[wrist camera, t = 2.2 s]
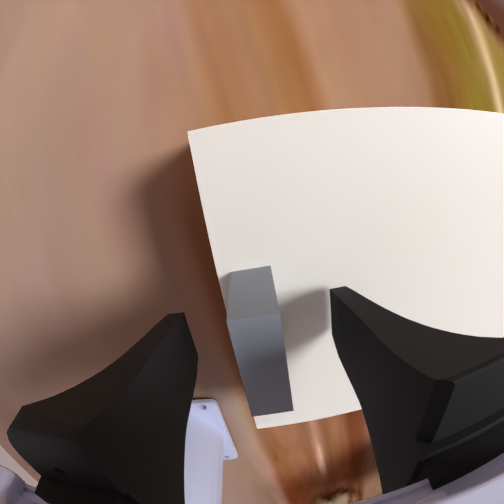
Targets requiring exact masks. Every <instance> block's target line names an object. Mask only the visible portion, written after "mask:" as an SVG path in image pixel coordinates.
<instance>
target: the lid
mask: <svg viewBox="0 0 504 504" xmlns="http://www.w3.org/2000/svg"><path fill="white" fill-rule="evenodd" d="M188 138H189V143H190V148H191V154H192V159H193V164H194V169H195V174H196V179H197V184H198V189H199V194H200V198H201V203H202V208H203V213H204V217H205V222H206V227H207V231H208V236H209V240H210V245H211V249H212V254H213V258H214V262H215V267H216V271H217V275H218V280H219V284H220V288H221V292H222V297H223V301H224V305H225V309H226V313H227V320H226V322H227V326H228V330H229V334H230V338H231V342H232V345H233V349H234V353H235V357H236V361H237V364H238V368H239V372H240V375H241V379H242V383H243V386H244V390H245V393H246V397H247V401H248V404H249V408H250V411H251V415H252V417H253V416H254V419H255V422H256V426H257V429H258V428H267V427H274V426H281V425H288V424H294V423H300V422H305V421H311V420H316V419H321V418H326V417H331V416H335V415H340V414H344V413H348V412H352V411H356V410H360V409H362V408H361V405H360V403H359V400H358V398H357V396H356V394H355V391H354V389H353V387H352V385H351V383H350V380H349V378H348V376H347V374H346V372H345V370H344V367H343V365H342V363H341V361H340V359H339V356H338V353H337V350H336V347H335V344H334V340H333V337H332V327H331V306H330V289H333V288H338V287H343V286H347V287H349V288H350V289H352V290H354V291H356V292H357V293H359V294H361V295H362V296H364V297H366V298H367V299H369V300H371V301H373V302H374V303H376V304H378V305H380V306H382V307H384V308H386V309H387V310H389V311H392V312H394V313H396V314H398V315H400V316H402V317H404V318H407V319H409V320H412V321H415V322H417V323H420V324H423V325H426V326H429V327H432V328H436V329H440V330H444V331H448V332H452V333H458V334H463V335H471V336H478V337H497V338H503V336H504V114H503V113H496V112H487V111H477V110H466V109H452V108H431V107H371V108H350V109H334V110H322V111H311V112H302V113H293V114H285V115H277V116H270V117H263V118H256V119H250V120H244V121H238V122H232V123H227V124H221V125H216V126H211V127H206V128H202V129H197V130H192V131H188Z"/></svg>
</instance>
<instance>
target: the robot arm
mask: <svg viewBox="0 0 504 504" xmlns="http://www.w3.org/2000/svg"><path fill="white" fill-rule="evenodd" d="M330 306H331V327H332V337H333V340H334V344H335V347H336V350H337V353H338V356H339V359H340V361H341V363H342V365H343V367H344V370H345V372H346V374H347V376H348V378H349V380H350V383H351V385H352V387H353V389H354V391H355V394H356V396H357V398H358V400H359V403H360V405H361V408H362V411H363V414H364V417H365V421H366V424H367V427H368V431H369V435H370V438H371V442H372V446H373V450H374V454H375V458H376V462H377V467H378V471H379V476H380V481H381V487H382V492H383V495H380V496H377V497H373V498H370V499H366V500H363V501H359V502H355V503H351V504H504V338H497V337H478V336H471V335H463V334H458V333H452V332H448V331H444V330H440V329H436V328H432V327H429V326H426V325H423V324H420V323H417V322H415V321H412V320H409V319H407V318H404V317H402V316H400V315H398V314H396V313H394V312H392V311H389V310H387V309H386V308H384V307H382V306H380V305H378V304H376V303H374V302H373V301H371V300H369V299H367V298H366V297H364V296H362V295H361V294H359V293H357V292H356V291H354V290H352V289H350V288H349V287H347V286H343V287H338V288H333V289H330ZM197 363H198V354H197V351H196V348H195V345H194V342H193V339H192V336H191V333H190V330H189V327H188V324H187V321H186V318H185V315H184V312H182V313H174V314H168V315H167V316H165V317H164V318H163V319H162V320H161V321H160V322H159V323H158V324H157V325H155V326H154V327H153V328H152V329H151V330H150V331H149V332H148V333H147V334H146V335H145V336H144V337H143V338H142V339H141V340H140V341H138V342H137V343H136V344H135V345H134V346H133V347H132V348H130V349H129V350H128V351H127V352H126V353H125V354H123V355H122V356H121V357H120V358H119V359H117V360H116V361H115V362H113V363H112V364H111V365H109V366H108V367H106V368H105V369H103V370H102V371H101V372H99V373H97V374H96V375H94V376H92V377H91V378H89V379H87V380H85V381H84V382H82V383H80V384H78V385H77V386H75V387H73V388H71V389H68V390H66V391H64V392H62V393H60V394H57V395H55V396H52V397H50V398H47V399H44V400H41V401H38V402H35V403H32V404H28V405H25V406H22V407H21V409H20V411H19V412H18V414H17V415H16V417H15V419H14V420H13V422H12V424H11V425H10V427H9V429H8V431H7V435H8V439H9V441H10V443H11V444H12V446H13V447H14V449H15V450H16V451H17V452H18V453H19V454H20V455H21V456H22V457H23V458H24V459H25V460H26V461H27V462H28V463H29V464H30V465H31V466H32V467H33V468H34V469H35V470H36V471H37V472H38V473H39V474H40V475H41V478H40V480H39V483H38V485H37V487H33V486H30V485H28V484H26V483H25V482H24V481H23V480H22V479H21V478H20V477H19V476H18V475H17V474H15V473H14V472H13V471H11V470H9V469H8V468H6V467H4V466H1V465H0V504H222V479H223V460H230V459H236V458H237V457H238V453H237V451H236V448H235V446H234V444H233V441H232V439H231V436H230V434H229V431H228V429H227V426H226V424H225V421H224V419H223V416H222V414H221V411H220V408H219V406H218V403H217V402H216V401H215V400H213V399H200V400H192V398H193V393H194V388H195V383H196V378H197ZM202 405H204V406H202Z"/></svg>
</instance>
